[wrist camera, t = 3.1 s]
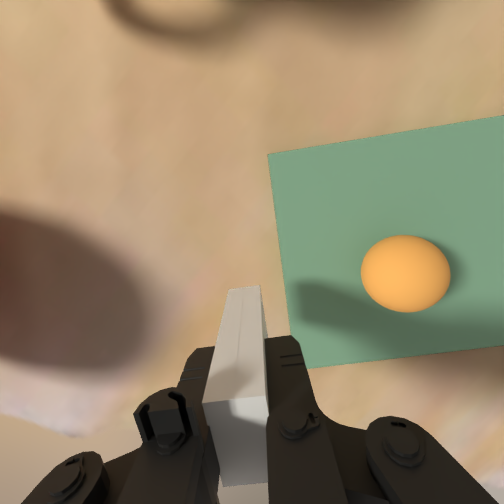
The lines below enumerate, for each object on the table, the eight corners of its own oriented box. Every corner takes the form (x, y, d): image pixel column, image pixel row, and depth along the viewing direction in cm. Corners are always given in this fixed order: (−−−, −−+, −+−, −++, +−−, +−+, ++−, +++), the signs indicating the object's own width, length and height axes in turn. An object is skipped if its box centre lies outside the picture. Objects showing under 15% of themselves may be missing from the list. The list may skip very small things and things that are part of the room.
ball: (348, 233, 15) (380, 253, 11) (418, 223, 15) (476, 239, 11) (351, 296, 16) (382, 333, 12) (417, 287, 16) (469, 322, 12)
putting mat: (267, 155, 14) (268, 154, 14) (736, 77, 13) (758, 72, 13) (294, 364, 18) (296, 370, 18) (660, 319, 17) (674, 325, 16)
